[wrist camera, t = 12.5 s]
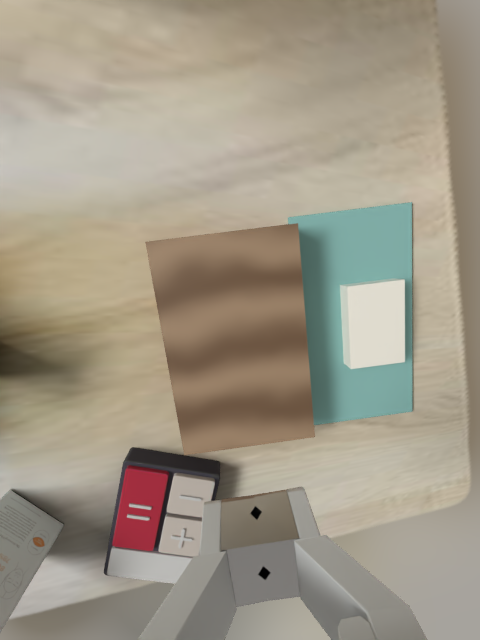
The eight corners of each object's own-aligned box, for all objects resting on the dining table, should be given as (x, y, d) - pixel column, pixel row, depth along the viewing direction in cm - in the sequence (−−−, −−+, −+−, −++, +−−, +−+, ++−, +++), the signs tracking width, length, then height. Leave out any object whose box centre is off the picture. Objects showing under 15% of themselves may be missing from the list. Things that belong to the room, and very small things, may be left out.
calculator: (220, 479, 33) (194, 593, 35) (220, 456, 37) (197, 559, 39) (120, 464, 32) (100, 582, 34) (132, 442, 36) (113, 548, 38)
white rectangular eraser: (404, 279, 30) (393, 278, 32) (347, 286, 30) (339, 284, 32) (404, 362, 32) (394, 356, 34) (350, 369, 32) (343, 362, 34)
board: (155, 244, 31) (145, 242, 27) (288, 227, 31) (298, 223, 27) (188, 433, 35) (184, 455, 31) (305, 417, 36) (314, 436, 32)
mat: (287, 217, 31) (288, 217, 31) (410, 202, 31) (411, 202, 31) (305, 424, 36) (306, 426, 36) (410, 410, 36) (412, 411, 36)
